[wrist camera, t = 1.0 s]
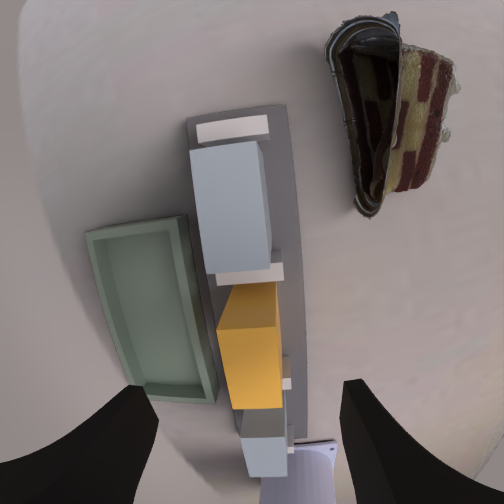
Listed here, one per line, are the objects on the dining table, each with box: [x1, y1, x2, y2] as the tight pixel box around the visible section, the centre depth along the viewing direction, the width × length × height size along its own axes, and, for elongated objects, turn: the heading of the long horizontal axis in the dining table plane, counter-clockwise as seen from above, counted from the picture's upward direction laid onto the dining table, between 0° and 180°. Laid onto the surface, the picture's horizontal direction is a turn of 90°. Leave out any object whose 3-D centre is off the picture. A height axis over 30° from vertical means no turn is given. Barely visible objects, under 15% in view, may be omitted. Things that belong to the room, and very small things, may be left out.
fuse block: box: [186, 104, 307, 454], centre depth 18 cm, size 26×6×4 cm, turn 7°
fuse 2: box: [240, 390, 287, 477], centre depth 18 cm, size 5×3×6 cm, turn 7°
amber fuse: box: [216, 281, 283, 409], centre depth 16 cm, size 5×3×6 cm, turn 6°
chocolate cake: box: [324, 11, 461, 219], centre depth 14 cm, size 10×7×12 cm
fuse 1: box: [189, 141, 272, 274], centre depth 14 cm, size 5×3×6 cm, turn 6°
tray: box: [85, 215, 220, 404], centre depth 19 cm, size 14×7×2 cm, turn 6°
